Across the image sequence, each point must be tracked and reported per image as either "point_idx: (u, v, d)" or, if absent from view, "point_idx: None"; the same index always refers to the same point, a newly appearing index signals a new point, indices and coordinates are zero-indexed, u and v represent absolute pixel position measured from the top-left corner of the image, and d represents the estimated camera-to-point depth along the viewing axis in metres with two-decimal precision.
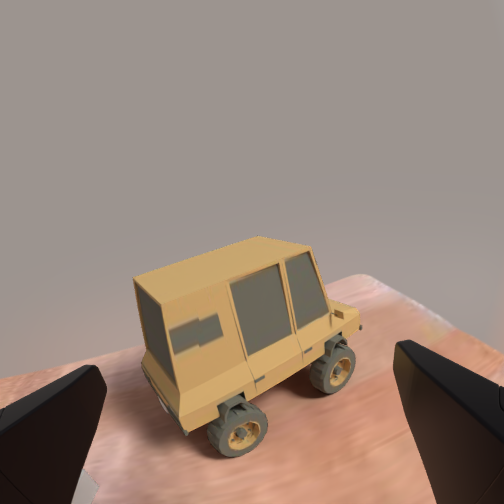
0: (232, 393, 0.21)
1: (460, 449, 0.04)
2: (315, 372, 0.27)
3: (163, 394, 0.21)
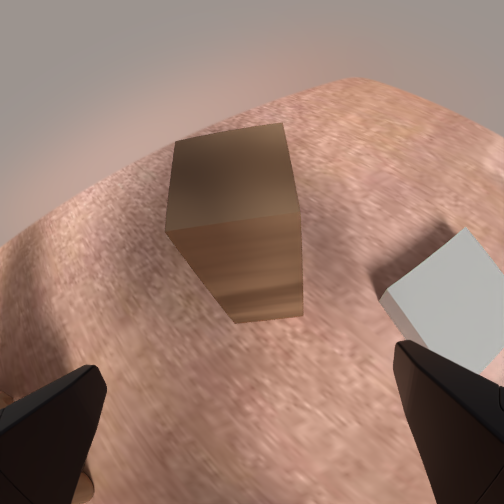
0: None
1: (460, 449, 0.04)
2: None
3: None
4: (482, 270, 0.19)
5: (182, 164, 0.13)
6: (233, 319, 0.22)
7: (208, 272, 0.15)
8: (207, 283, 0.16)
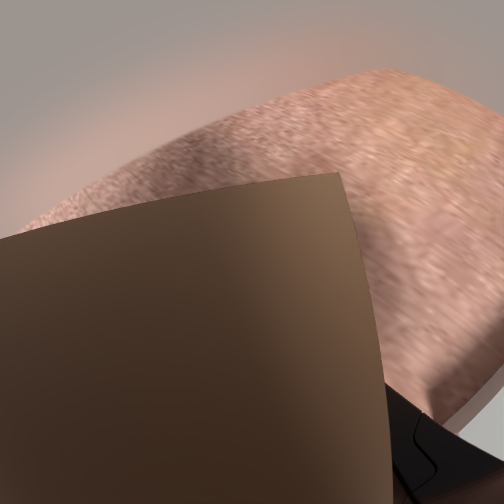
0: None
1: None
2: None
3: None
4: None
5: None
6: None
7: None
8: None
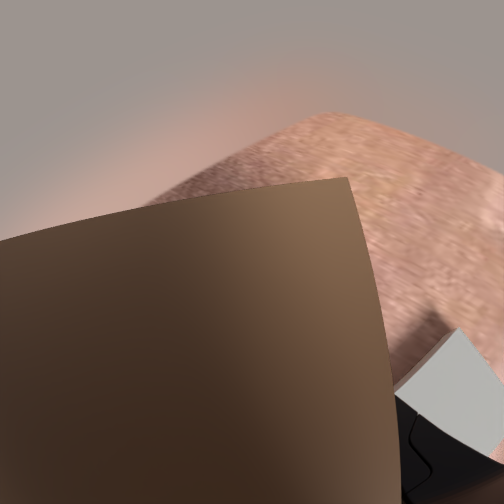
0: None
1: None
2: None
3: None
4: (473, 378, 0.16)
5: None
6: None
7: None
8: None
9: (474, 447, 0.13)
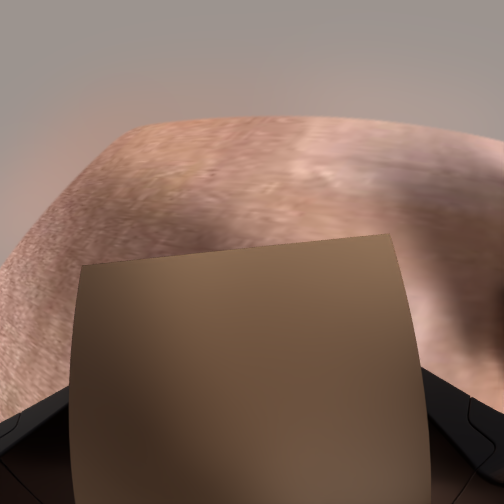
0: None
1: None
2: None
3: None
4: None
5: (95, 364, 0.04)
6: None
7: None
8: None
9: None
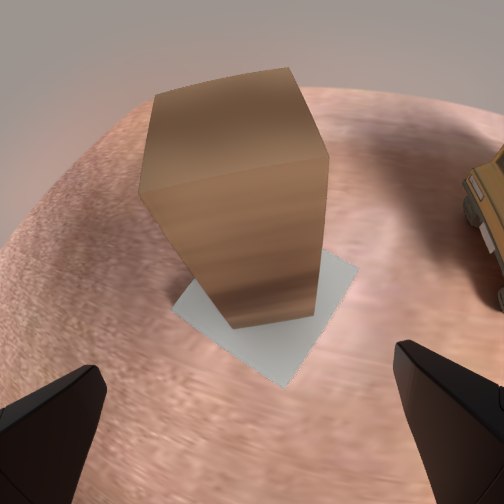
0: None
1: (460, 449, 0.04)
2: None
3: None
4: None
5: (163, 116, 0.10)
6: (231, 324, 0.18)
7: (200, 259, 0.11)
8: (199, 275, 0.12)
9: None
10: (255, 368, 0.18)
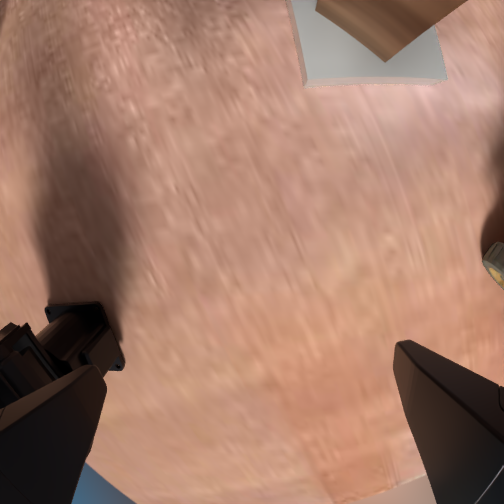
0: None
1: (460, 449, 0.04)
2: None
3: None
4: None
5: None
6: (318, 4, 0.13)
7: None
8: None
9: None
10: (303, 45, 0.15)
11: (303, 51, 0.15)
